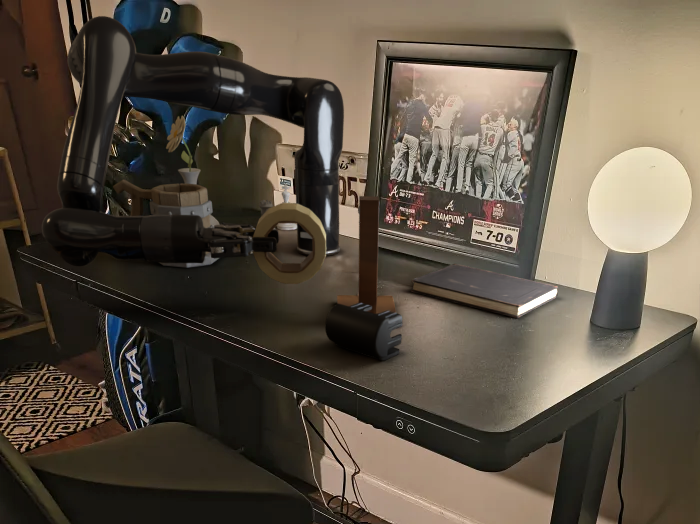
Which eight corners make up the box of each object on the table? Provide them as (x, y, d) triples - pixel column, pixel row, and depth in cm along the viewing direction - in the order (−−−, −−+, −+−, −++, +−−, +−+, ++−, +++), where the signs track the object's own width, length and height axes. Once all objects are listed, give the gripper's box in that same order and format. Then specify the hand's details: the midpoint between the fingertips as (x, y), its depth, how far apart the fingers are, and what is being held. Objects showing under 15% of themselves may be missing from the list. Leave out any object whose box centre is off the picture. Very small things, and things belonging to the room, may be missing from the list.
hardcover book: (517, 318, 131) (519, 305, 130) (410, 291, 142) (411, 279, 141) (557, 297, 142) (559, 285, 141) (455, 274, 153) (456, 262, 152)
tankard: (226, 253, 161) (220, 179, 153) (204, 269, 151) (196, 190, 143) (139, 247, 164) (128, 173, 156) (112, 262, 153) (99, 183, 145)
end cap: (324, 350, 116) (324, 307, 112) (354, 338, 121) (354, 297, 117) (374, 367, 111) (375, 323, 107) (403, 354, 116) (405, 311, 112)
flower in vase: (174, 227, 180) (160, 110, 166) (222, 227, 181) (212, 111, 167) (167, 241, 169) (151, 117, 155) (218, 241, 170) (207, 118, 156)
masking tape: (257, 275, 129) (252, 202, 123) (326, 276, 130) (325, 203, 123) (255, 283, 125) (250, 208, 119) (326, 284, 126) (325, 209, 120)
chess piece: (293, 230, 181) (292, 186, 175) (274, 229, 181) (272, 185, 176) (299, 226, 185) (298, 183, 179) (280, 224, 185) (278, 181, 180)
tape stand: (337, 299, 137) (336, 182, 126) (391, 300, 138) (395, 184, 127) (337, 325, 125) (337, 199, 114) (396, 326, 126) (401, 200, 115)
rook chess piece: (280, 236, 176) (279, 200, 171) (272, 240, 172) (270, 203, 168) (263, 234, 177) (261, 198, 172) (254, 238, 173) (252, 202, 169)
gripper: (162, 225, 115) (273, 227, 116) (178, 205, 127) (278, 207, 128) (168, 274, 119) (276, 275, 120) (183, 251, 131) (281, 252, 132)
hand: (276, 240), depth 124 cm, fingers closed on masking tape, 4 cm apart
